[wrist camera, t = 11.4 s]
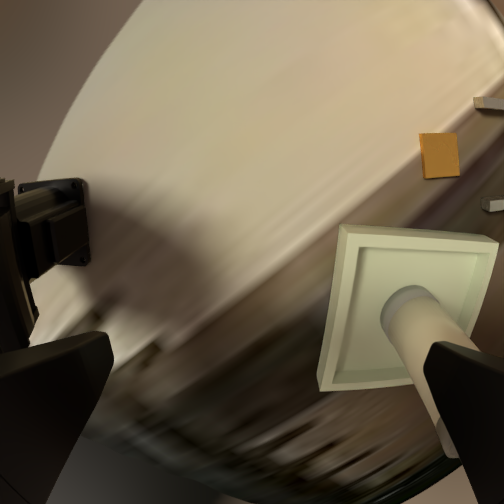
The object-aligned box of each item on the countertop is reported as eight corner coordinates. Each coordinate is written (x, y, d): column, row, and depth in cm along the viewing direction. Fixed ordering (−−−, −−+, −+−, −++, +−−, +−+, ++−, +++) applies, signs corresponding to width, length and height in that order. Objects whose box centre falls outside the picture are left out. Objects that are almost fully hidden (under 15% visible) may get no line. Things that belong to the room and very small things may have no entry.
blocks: (424, 215, 19) (432, 220, 18) (413, 94, 16) (421, 92, 15) (519, 202, 18) (528, 206, 17) (513, 102, 15) (523, 102, 14)
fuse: (368, 326, 22) (428, 457, 10) (403, 275, 20) (497, 389, 9) (409, 343, 22) (473, 457, 11) (442, 297, 21) (530, 400, 9)
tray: (316, 374, 24) (319, 391, 22) (339, 223, 20) (347, 233, 18) (443, 363, 24) (452, 377, 22) (483, 234, 19) (499, 243, 17)
